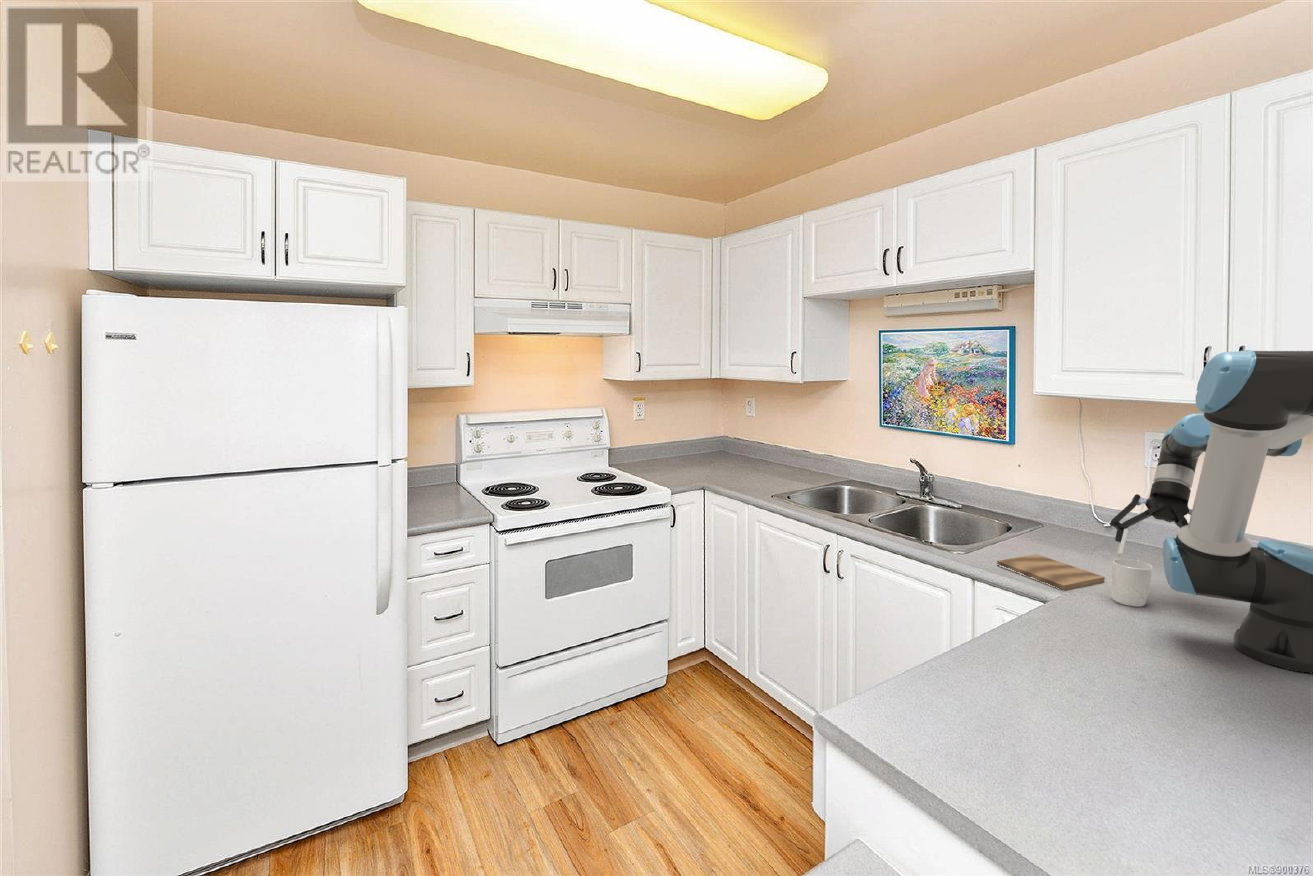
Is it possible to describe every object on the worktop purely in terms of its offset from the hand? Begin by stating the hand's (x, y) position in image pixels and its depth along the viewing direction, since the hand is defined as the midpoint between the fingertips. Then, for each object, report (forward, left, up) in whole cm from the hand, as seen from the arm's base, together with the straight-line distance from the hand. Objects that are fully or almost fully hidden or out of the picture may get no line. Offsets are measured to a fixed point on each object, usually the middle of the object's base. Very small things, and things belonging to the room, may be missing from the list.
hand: (1153, 564), depth 147 cm
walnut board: (+22, +12, -11) cm, 27 cm away
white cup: (+4, +2, -11) cm, 12 cm away
